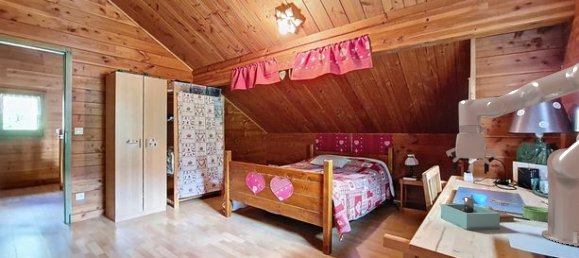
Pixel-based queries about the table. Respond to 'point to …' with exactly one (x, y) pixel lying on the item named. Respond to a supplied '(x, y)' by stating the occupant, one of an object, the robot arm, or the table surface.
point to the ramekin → (535, 213)
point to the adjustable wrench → (509, 203)
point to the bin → (470, 217)
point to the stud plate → (502, 215)
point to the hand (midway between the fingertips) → (471, 172)
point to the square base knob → (468, 205)
